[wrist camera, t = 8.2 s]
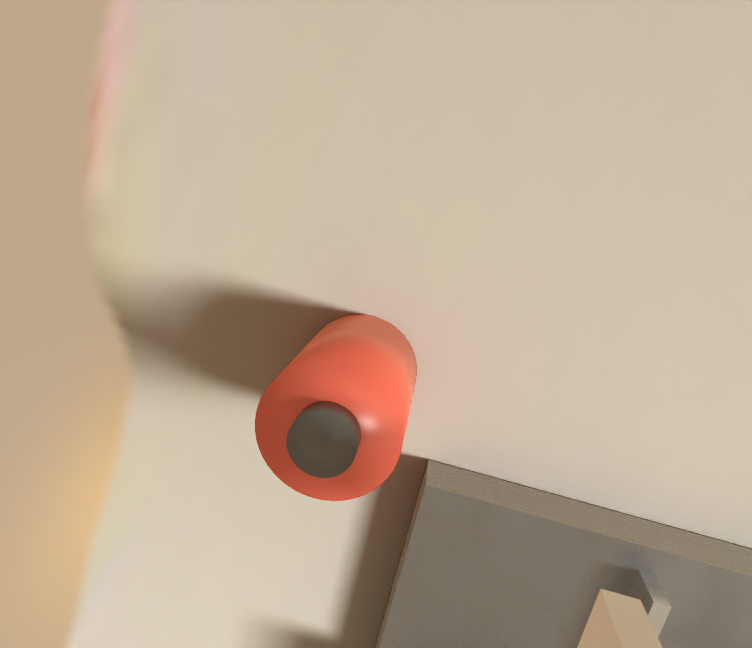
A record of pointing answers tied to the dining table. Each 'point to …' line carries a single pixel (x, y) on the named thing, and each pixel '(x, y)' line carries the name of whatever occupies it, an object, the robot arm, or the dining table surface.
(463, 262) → the dining table surface
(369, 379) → the cap
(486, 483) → the panel
